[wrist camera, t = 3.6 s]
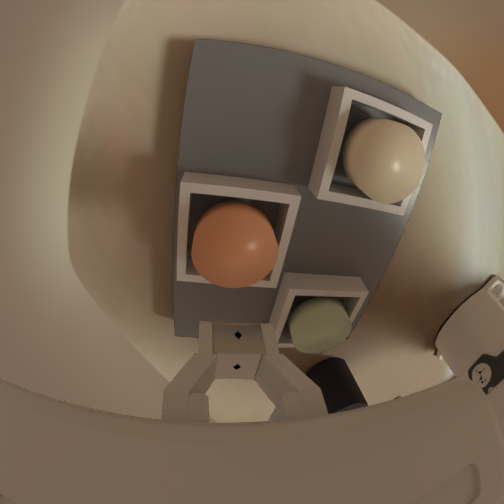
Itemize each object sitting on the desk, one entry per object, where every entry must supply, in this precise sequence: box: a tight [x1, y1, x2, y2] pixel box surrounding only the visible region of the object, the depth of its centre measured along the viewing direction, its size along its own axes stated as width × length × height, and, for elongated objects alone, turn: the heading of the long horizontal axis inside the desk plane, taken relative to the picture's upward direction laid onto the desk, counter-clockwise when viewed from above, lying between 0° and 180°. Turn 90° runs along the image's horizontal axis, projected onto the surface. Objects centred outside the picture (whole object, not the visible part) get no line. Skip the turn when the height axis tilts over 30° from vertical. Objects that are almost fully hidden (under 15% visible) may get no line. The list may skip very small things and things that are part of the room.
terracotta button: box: [191, 201, 278, 288], centre depth 17 cm, size 5×5×2 cm
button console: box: [173, 39, 442, 348], centre depth 19 cm, size 18×24×4 cm
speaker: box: [308, 357, 368, 414], centre depth 30 cm, size 8×6×10 cm
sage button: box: [288, 296, 352, 354], centre depth 22 cm, size 5×5×2 cm
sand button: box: [342, 117, 425, 204], centre depth 14 cm, size 5×5×2 cm
